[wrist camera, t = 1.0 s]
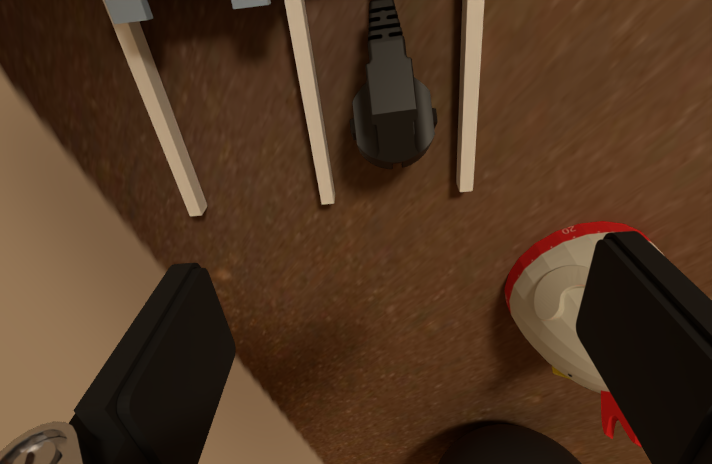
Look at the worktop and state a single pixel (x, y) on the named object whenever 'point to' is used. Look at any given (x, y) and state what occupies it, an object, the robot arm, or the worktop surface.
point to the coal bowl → (506, 447)
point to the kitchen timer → (562, 307)
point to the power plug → (391, 97)
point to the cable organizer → (132, 6)
